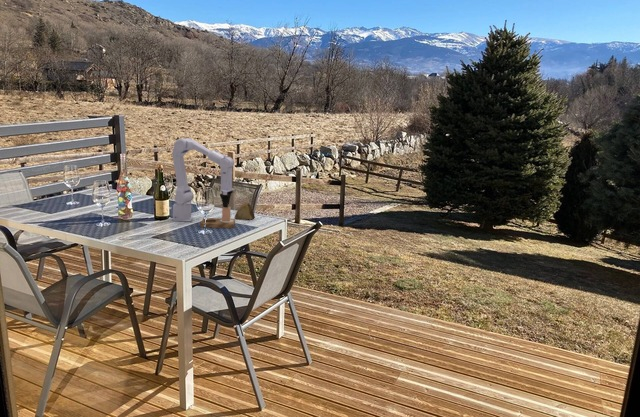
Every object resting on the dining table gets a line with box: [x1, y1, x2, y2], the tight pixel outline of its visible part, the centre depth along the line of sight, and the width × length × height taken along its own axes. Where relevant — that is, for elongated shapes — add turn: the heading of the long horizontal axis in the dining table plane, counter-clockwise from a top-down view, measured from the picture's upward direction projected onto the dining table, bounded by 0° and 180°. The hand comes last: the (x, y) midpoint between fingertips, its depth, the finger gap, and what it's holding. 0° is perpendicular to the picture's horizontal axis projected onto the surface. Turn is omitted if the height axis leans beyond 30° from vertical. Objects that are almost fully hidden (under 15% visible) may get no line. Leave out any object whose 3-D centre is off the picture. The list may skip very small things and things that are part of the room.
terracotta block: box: [221, 206, 232, 221], centre depth 251 cm, size 4×4×7 cm
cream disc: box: [220, 218, 234, 223], centre depth 251 cm, size 7×7×1 cm
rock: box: [234, 202, 256, 220], centre depth 267 cm, size 11×9×10 cm
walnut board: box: [199, 217, 236, 229], centre depth 251 cm, size 17×12×2 cm
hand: (226, 205), depth 250 cm, fingers open, 7 cm apart
